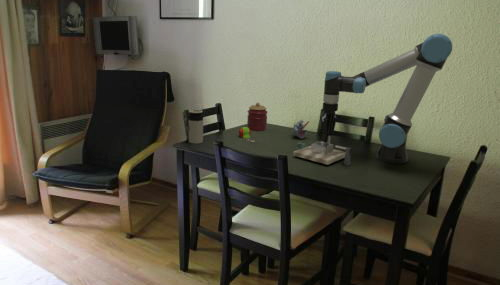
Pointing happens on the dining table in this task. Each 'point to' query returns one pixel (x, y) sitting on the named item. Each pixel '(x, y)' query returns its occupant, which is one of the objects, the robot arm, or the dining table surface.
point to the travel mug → (195, 126)
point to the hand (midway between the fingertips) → (326, 147)
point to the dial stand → (346, 155)
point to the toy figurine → (299, 129)
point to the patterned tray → (325, 159)
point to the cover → (322, 148)
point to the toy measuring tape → (245, 133)
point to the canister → (257, 118)
